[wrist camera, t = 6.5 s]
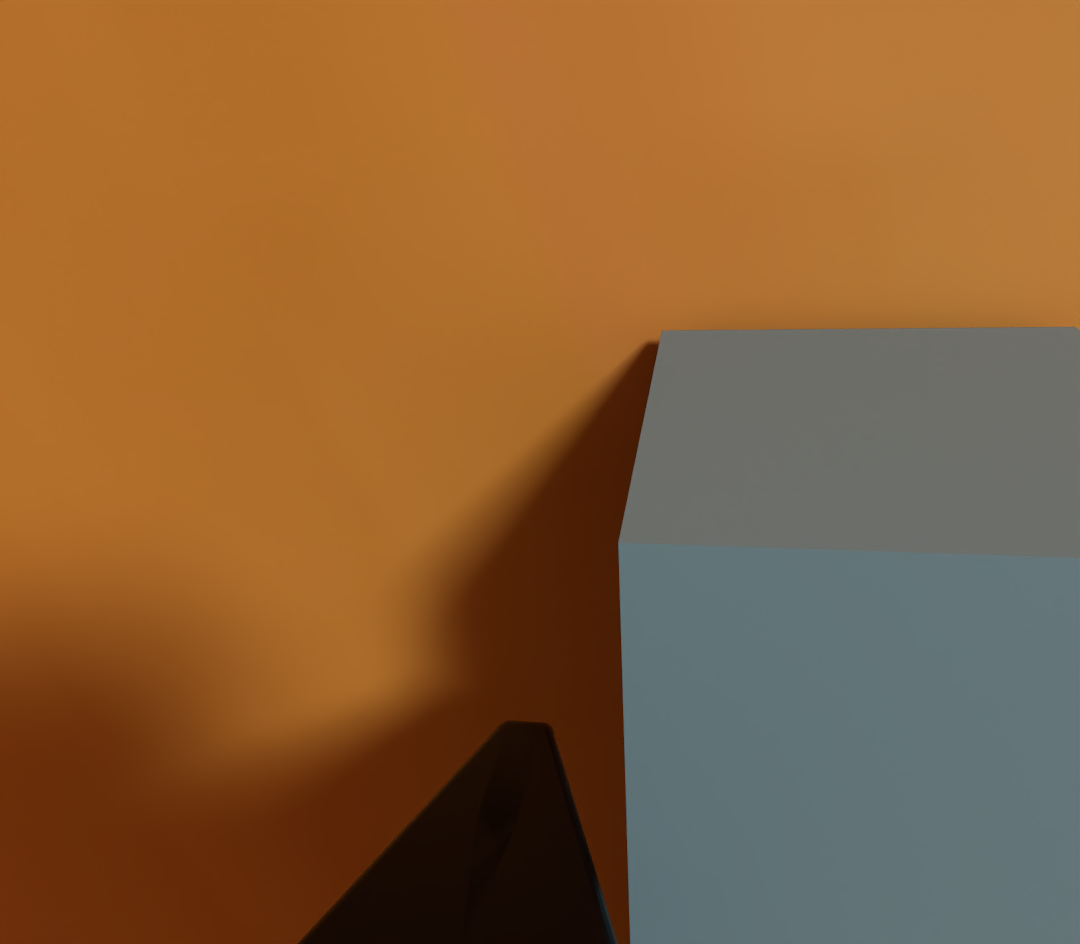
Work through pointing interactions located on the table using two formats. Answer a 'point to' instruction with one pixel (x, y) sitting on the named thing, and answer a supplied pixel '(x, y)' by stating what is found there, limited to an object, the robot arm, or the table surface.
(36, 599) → the table surface
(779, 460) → the grey long block
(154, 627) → the table surface
